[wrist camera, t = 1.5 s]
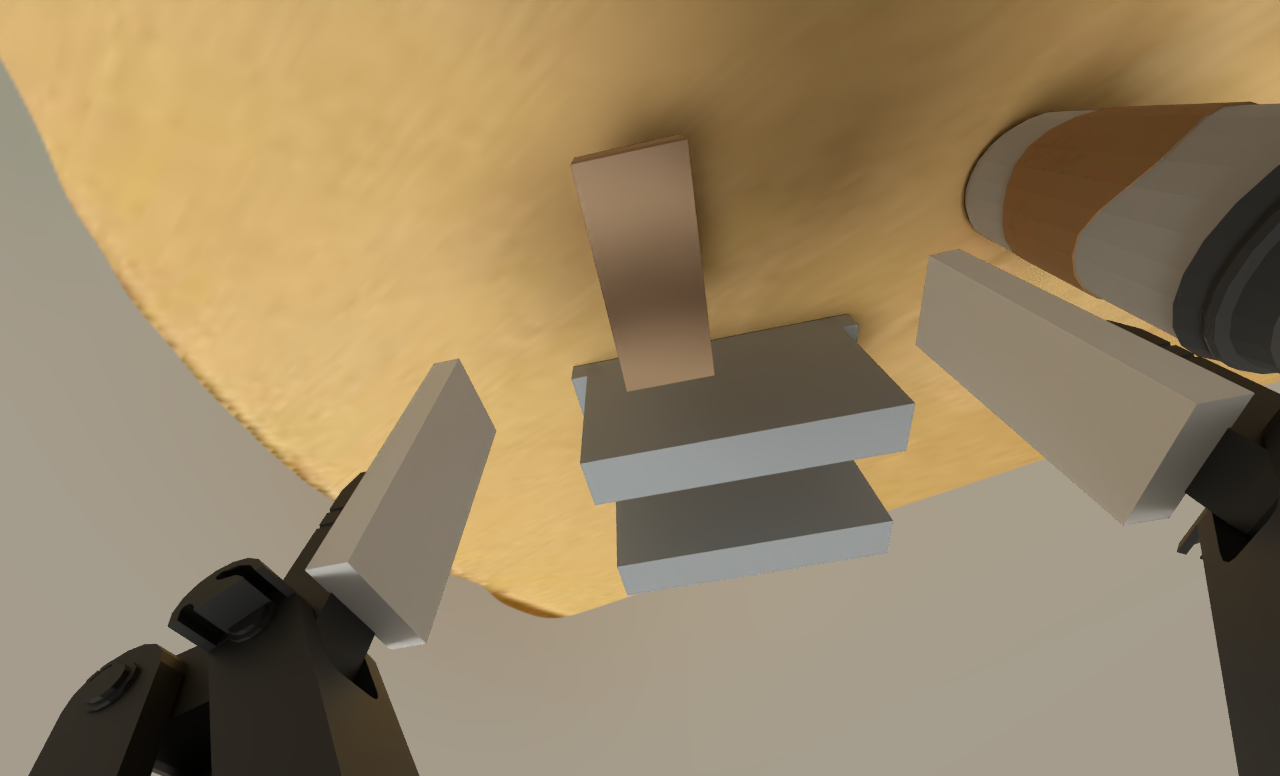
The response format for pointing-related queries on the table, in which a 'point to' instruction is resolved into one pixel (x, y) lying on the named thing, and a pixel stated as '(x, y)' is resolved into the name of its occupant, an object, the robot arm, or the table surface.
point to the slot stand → (744, 457)
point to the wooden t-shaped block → (648, 258)
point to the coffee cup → (1150, 216)
